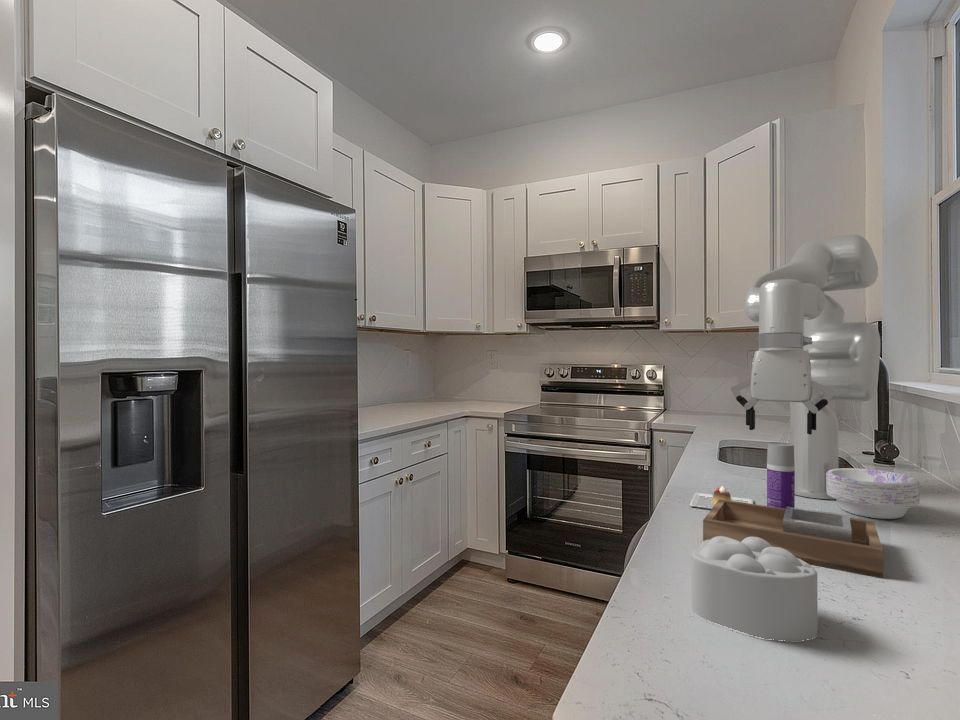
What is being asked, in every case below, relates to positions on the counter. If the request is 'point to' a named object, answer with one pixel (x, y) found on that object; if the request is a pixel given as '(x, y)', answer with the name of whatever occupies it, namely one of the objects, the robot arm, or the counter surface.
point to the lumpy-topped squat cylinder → (754, 588)
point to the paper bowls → (873, 492)
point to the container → (780, 475)
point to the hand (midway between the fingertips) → (780, 431)
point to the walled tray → (797, 537)
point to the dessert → (716, 497)
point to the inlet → (817, 524)
